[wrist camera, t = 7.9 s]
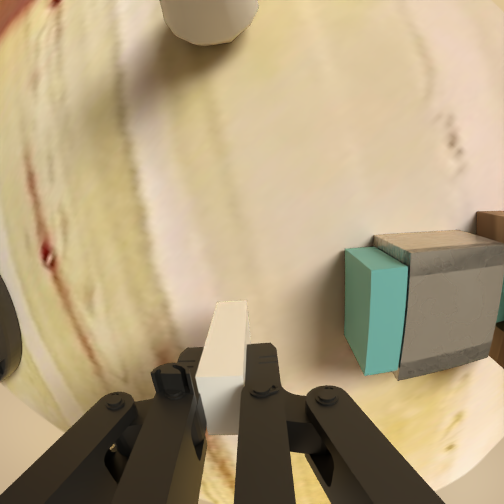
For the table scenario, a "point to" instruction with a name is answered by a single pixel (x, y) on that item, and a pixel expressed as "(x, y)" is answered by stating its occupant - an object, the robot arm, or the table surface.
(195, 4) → the salt shaker
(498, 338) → the socket block
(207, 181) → the table surface
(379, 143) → the table surface
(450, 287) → the sleeve
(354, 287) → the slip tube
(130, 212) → the table surface
